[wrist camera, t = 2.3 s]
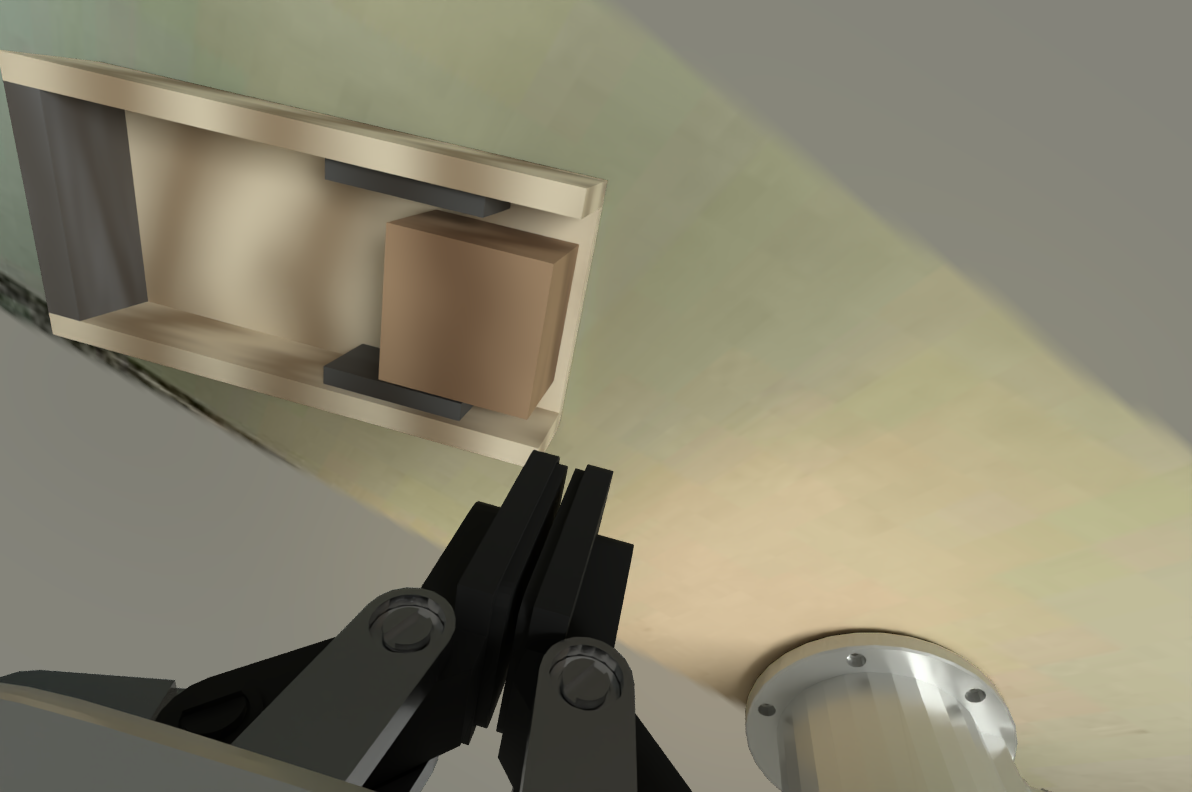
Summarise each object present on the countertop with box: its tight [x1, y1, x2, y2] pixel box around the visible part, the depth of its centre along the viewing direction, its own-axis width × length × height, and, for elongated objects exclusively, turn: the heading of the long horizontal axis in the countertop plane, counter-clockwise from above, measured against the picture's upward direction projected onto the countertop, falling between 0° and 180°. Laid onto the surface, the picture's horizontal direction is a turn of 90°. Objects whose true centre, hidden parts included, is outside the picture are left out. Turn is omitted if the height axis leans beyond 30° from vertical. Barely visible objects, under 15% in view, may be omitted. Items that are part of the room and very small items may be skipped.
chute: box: [0, 50, 608, 467], centre depth 25 cm, size 22×11×4 cm, turn 80°
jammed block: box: [379, 209, 579, 420], centre depth 24 cm, size 6×6×4 cm
